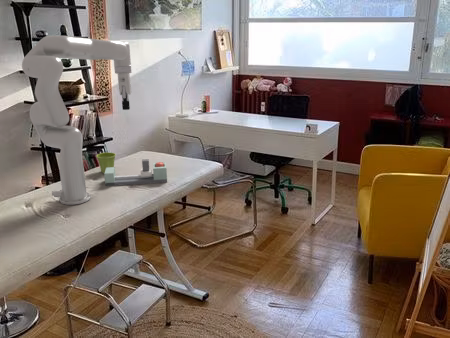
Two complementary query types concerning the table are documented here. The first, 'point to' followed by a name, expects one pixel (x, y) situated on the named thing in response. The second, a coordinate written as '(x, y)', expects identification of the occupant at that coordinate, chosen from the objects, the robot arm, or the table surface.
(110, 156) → the plant pot
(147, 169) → the carriage
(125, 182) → the rail track
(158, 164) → the button
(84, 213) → the table surface
